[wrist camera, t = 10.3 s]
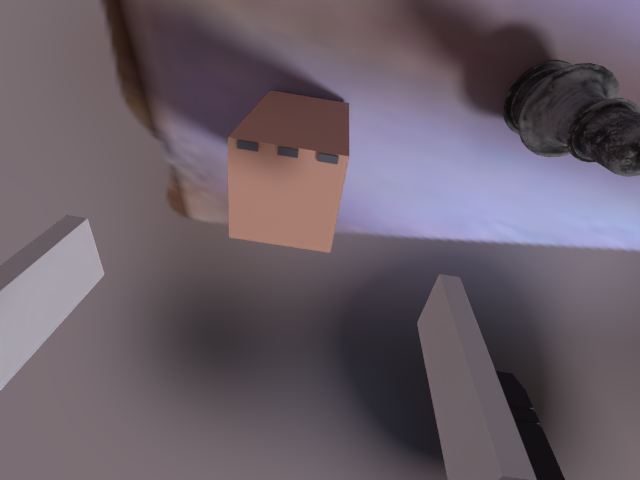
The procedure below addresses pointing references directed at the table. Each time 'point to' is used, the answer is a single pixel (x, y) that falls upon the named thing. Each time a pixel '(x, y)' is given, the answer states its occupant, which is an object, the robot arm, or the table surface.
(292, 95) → the stub
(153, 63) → the table surface
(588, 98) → the dark rounded upright piece
